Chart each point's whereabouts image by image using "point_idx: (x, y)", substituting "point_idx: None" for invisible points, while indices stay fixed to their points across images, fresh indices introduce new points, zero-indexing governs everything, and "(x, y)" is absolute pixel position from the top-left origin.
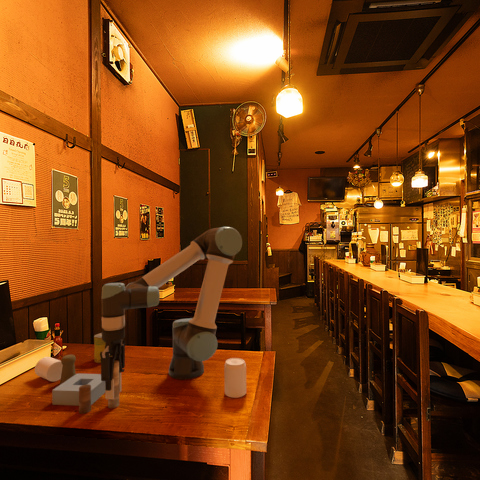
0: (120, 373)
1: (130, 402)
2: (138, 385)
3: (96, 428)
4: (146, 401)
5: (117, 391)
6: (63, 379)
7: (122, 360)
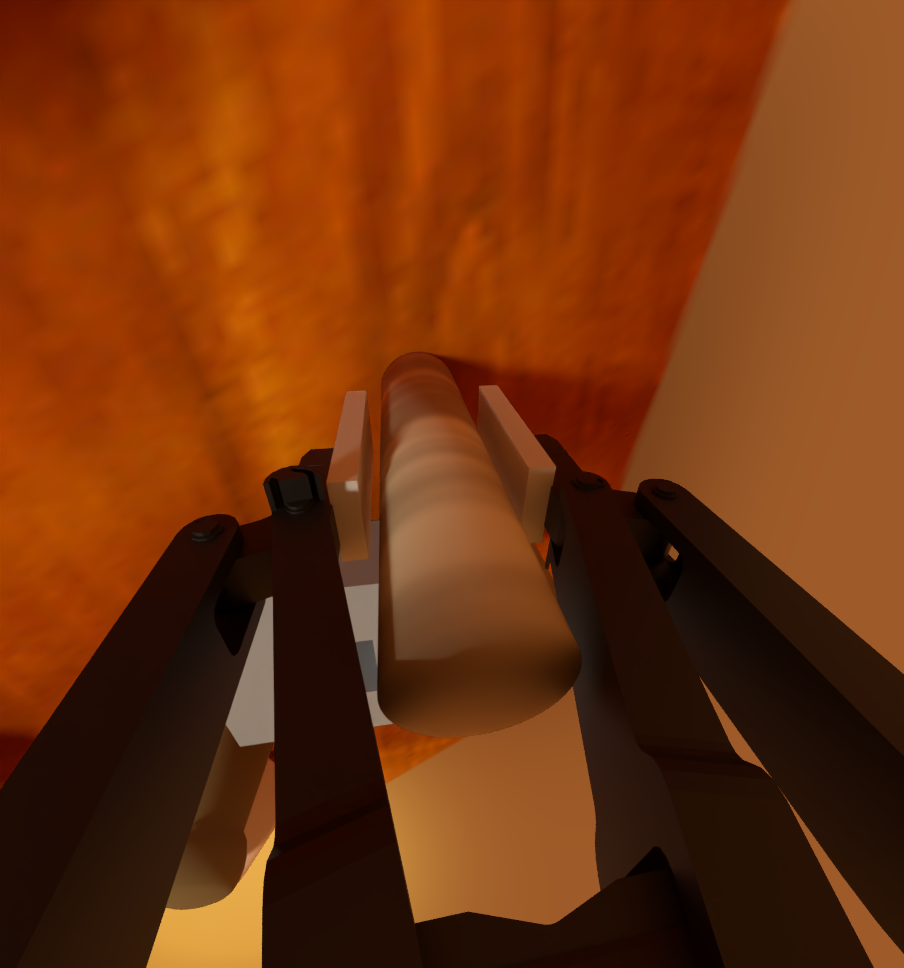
0: (353, 480)
1: (353, 277)
2: (43, 352)
3: (670, 351)
4: (299, 94)
5: (443, 392)
6: (272, 743)
7: (198, 629)
